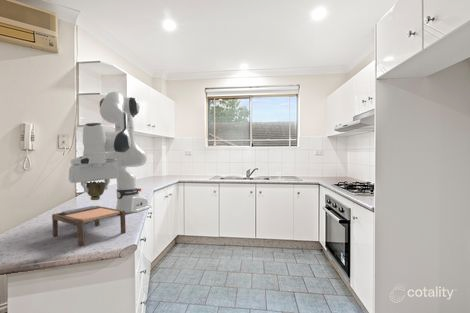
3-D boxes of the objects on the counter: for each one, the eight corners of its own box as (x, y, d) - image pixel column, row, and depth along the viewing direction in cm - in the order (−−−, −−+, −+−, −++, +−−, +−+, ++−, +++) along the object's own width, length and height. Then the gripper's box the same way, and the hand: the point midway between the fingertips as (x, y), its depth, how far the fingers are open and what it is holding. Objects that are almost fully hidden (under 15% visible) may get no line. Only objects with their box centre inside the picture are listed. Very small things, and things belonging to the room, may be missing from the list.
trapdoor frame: (97, 225, 129) (97, 205, 128) (125, 232, 116) (125, 210, 115) (52, 236, 112) (52, 214, 112) (79, 246, 99) (78, 221, 99)
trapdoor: (95, 210, 126) (95, 205, 126) (119, 215, 114) (119, 209, 114) (59, 217, 112) (59, 212, 112) (83, 224, 101) (82, 218, 101)
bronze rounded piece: (96, 201, 105) (96, 182, 105) (81, 200, 106) (81, 181, 107) (108, 199, 112) (109, 181, 113) (94, 198, 114) (95, 181, 114)
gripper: (113, 158, 120) (114, 187, 120) (66, 160, 103) (67, 193, 103) (121, 158, 116) (122, 188, 117) (73, 160, 99) (74, 194, 100)
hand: (96, 190), depth 110 cm, fingers closed on bronze rounded piece, 6 cm apart
